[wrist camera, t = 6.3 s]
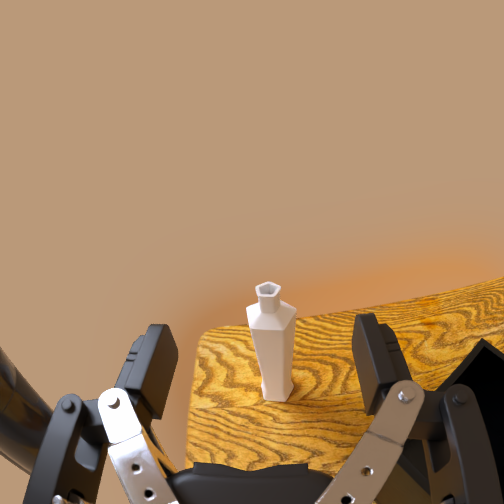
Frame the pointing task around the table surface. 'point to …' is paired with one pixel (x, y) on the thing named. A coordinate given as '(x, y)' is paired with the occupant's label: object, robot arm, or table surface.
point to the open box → (494, 416)
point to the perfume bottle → (273, 340)
